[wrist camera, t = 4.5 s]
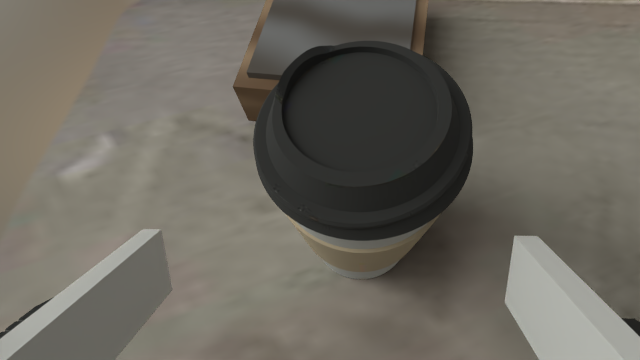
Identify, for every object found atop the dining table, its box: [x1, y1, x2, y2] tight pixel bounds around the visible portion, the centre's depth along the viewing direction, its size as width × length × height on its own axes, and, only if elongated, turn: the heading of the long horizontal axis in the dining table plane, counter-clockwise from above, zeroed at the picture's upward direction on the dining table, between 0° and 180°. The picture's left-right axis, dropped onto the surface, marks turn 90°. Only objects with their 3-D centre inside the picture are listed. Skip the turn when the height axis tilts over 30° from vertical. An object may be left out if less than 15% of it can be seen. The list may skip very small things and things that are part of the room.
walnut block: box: [233, 0, 428, 121], centre depth 31 cm, size 14×14×5 cm
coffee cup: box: [253, 41, 473, 279], centre depth 20 cm, size 9×9×15 cm
